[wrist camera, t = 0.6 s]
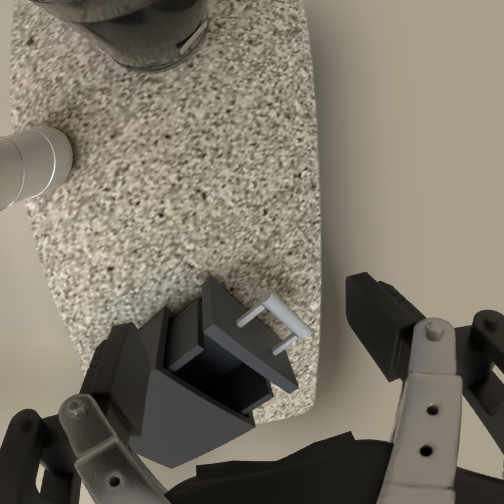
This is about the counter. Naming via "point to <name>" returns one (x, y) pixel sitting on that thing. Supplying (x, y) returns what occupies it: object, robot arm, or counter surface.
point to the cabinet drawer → (232, 348)
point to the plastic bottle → (33, 163)
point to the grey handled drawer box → (180, 409)
